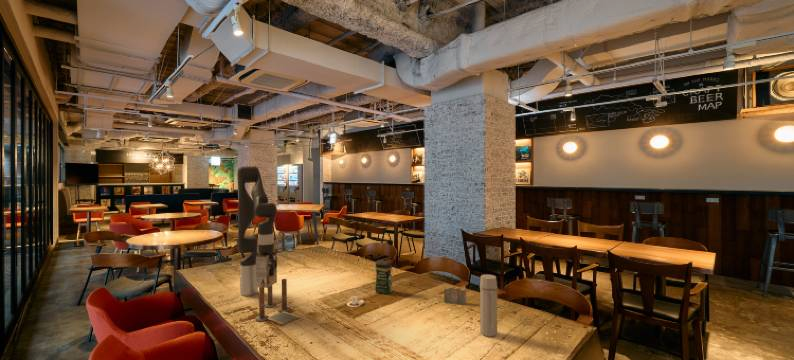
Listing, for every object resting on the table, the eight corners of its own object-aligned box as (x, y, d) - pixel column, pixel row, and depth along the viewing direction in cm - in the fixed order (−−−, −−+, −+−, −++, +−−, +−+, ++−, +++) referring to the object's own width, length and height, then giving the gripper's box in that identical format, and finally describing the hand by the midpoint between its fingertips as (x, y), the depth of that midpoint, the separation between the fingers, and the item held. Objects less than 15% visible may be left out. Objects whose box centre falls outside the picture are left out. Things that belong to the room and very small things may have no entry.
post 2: (261, 306, 189) (261, 276, 188) (271, 302, 193) (271, 273, 193) (268, 308, 185) (268, 278, 185) (278, 305, 190) (278, 275, 190)
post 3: (275, 311, 182) (275, 279, 181) (285, 307, 187) (285, 277, 186) (283, 313, 178) (282, 282, 178) (293, 309, 183) (292, 279, 183)
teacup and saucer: (365, 303, 192) (365, 296, 192) (358, 308, 185) (358, 300, 185) (352, 301, 196) (352, 293, 196) (344, 306, 189) (344, 298, 189)
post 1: (252, 319, 171) (252, 286, 171) (263, 315, 176) (263, 283, 176) (260, 322, 168) (259, 289, 167) (271, 318, 172) (270, 285, 172)
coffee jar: (373, 293, 208) (373, 261, 208) (379, 289, 215) (379, 258, 215) (388, 295, 204) (388, 263, 204) (394, 291, 211) (393, 259, 211)
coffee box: (266, 281, 186) (265, 251, 185) (277, 282, 184) (276, 251, 184) (255, 287, 177) (255, 255, 176) (267, 288, 175) (266, 255, 175)
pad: (266, 319, 171) (266, 317, 171) (283, 312, 180) (283, 311, 180) (282, 325, 165) (282, 323, 164) (299, 318, 173) (299, 316, 173)
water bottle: (477, 330, 158) (477, 274, 157) (494, 329, 158) (494, 273, 158) (484, 340, 149) (483, 280, 148) (502, 339, 149) (502, 280, 149)
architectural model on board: (466, 303, 192) (466, 285, 192) (465, 305, 189) (465, 287, 189) (445, 301, 195) (445, 283, 195) (444, 303, 192) (444, 285, 192)
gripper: (250, 242, 181) (251, 274, 181) (268, 245, 173) (268, 278, 173) (263, 240, 187) (264, 270, 188) (281, 242, 179) (281, 275, 179)
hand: (266, 274), depth 180 cm, fingers closed on coffee box, 8 cm apart
